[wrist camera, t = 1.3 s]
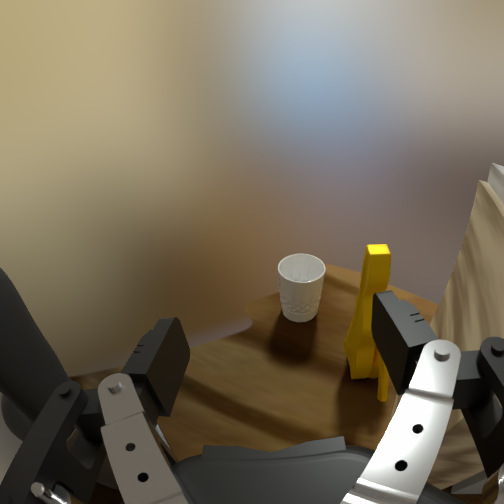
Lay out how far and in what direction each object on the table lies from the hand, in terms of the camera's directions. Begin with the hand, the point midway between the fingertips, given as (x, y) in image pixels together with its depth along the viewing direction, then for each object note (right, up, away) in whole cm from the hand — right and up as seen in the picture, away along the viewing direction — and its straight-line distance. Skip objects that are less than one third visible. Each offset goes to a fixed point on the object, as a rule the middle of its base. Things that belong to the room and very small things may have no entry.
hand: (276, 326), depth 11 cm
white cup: (+8, -8, +41) cm, 43 cm away
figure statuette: (+16, -15, +30) cm, 37 cm away
